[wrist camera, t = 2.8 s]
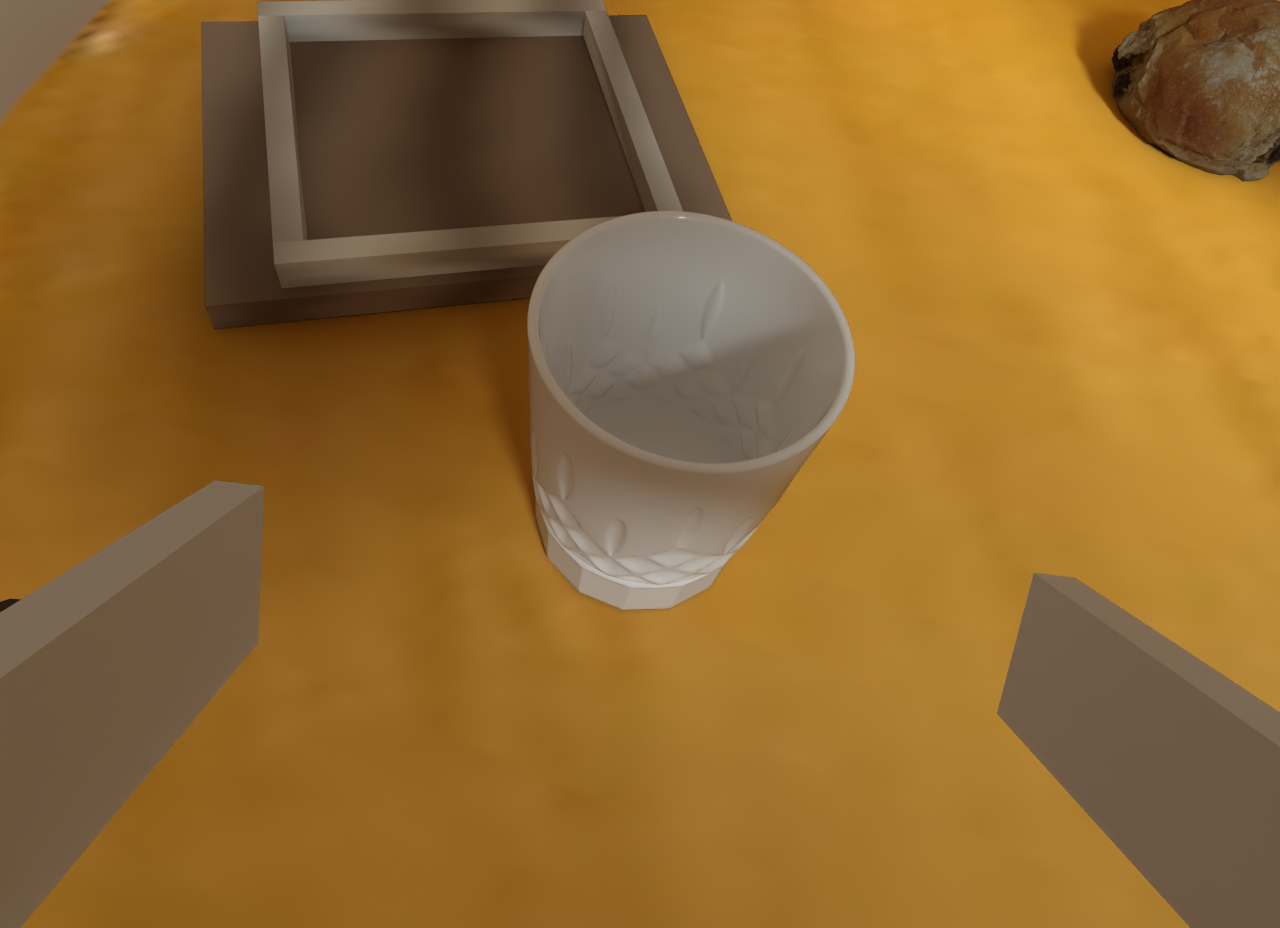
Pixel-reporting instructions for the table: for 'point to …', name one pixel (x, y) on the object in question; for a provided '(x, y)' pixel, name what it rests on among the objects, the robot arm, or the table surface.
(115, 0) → the table surface
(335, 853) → the table surface
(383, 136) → the keeper board
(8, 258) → the table surface
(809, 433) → the white cup
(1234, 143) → the bread roll
